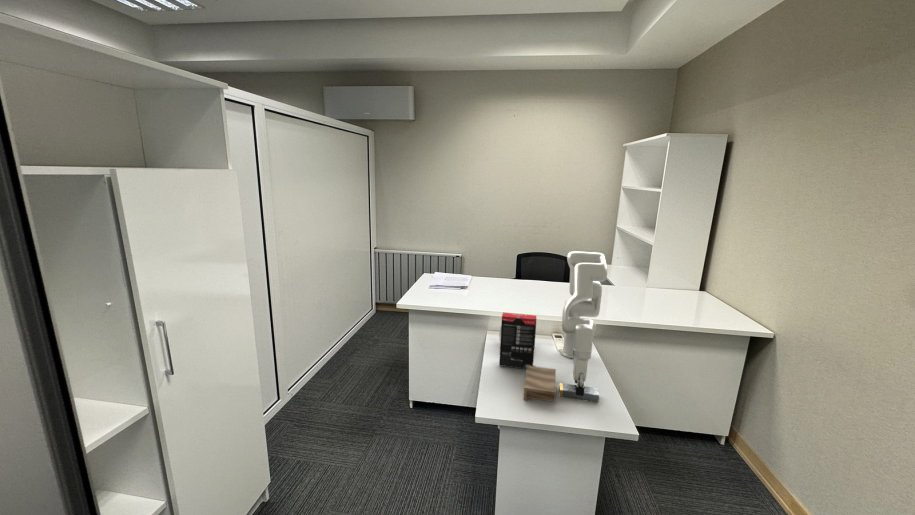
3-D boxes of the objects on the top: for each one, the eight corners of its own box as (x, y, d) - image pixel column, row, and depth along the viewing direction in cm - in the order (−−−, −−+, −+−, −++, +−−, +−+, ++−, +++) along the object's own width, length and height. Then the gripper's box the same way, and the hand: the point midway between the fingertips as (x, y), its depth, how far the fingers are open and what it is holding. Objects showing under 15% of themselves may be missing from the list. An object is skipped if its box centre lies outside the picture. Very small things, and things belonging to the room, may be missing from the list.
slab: (596, 395, 165) (597, 387, 164) (598, 402, 159) (599, 395, 158) (559, 389, 168) (559, 382, 168) (559, 397, 163) (560, 389, 162)
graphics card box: (533, 364, 191) (536, 313, 186) (533, 370, 185) (536, 318, 179) (500, 360, 195) (502, 311, 189) (498, 367, 188) (501, 315, 182)
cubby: (526, 377, 179) (527, 365, 178) (554, 381, 176) (555, 369, 174) (523, 400, 160) (524, 387, 159) (554, 405, 157) (555, 392, 155)
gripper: (572, 343, 169) (569, 378, 172) (573, 360, 152) (570, 398, 156) (589, 345, 167) (586, 380, 170) (593, 363, 150) (589, 401, 154)
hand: (578, 389), depth 163 cm, fingers open, 9 cm apart
